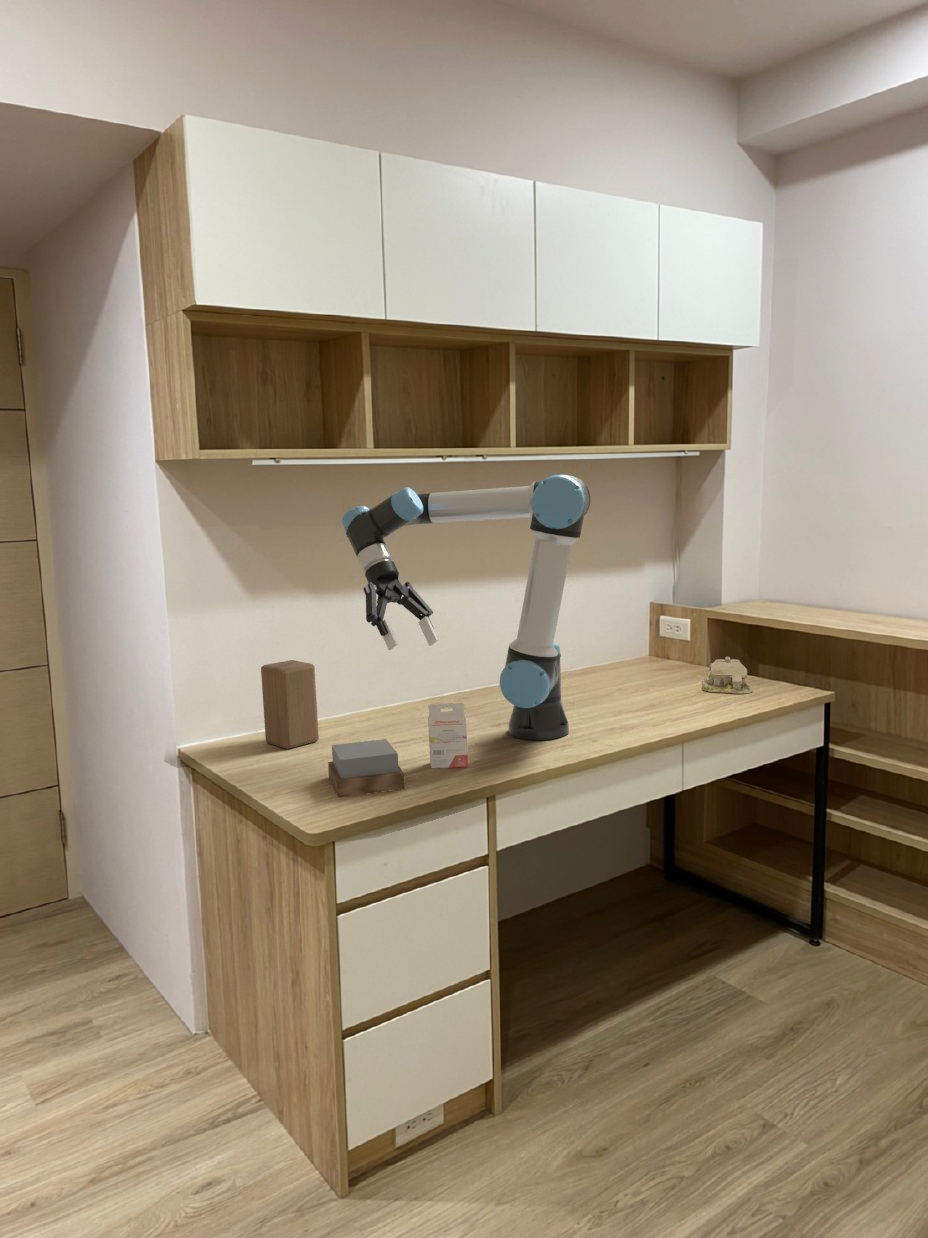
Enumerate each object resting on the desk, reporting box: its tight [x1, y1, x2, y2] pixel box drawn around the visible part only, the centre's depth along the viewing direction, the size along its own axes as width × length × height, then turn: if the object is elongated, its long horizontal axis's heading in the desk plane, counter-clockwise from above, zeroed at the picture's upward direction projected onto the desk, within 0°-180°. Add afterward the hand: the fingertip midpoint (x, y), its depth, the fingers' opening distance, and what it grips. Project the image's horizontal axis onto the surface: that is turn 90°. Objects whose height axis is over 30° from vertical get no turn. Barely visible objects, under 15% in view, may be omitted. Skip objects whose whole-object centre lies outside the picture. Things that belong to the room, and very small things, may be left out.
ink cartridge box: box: [427, 702, 469, 769], centre depth 210 cm, size 9×5×15 cm, turn 90°
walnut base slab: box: [327, 761, 406, 798], centre depth 200 cm, size 14×14×4 cm
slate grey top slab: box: [331, 738, 399, 779], centre depth 199 cm, size 12×12×4 cm
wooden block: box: [260, 659, 320, 750], centre depth 233 cm, size 10×10×20 cm
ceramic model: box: [701, 656, 753, 695], centre depth 274 cm, size 14×11×10 cm
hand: (414, 645), depth 215 cm, fingers open, 13 cm apart
